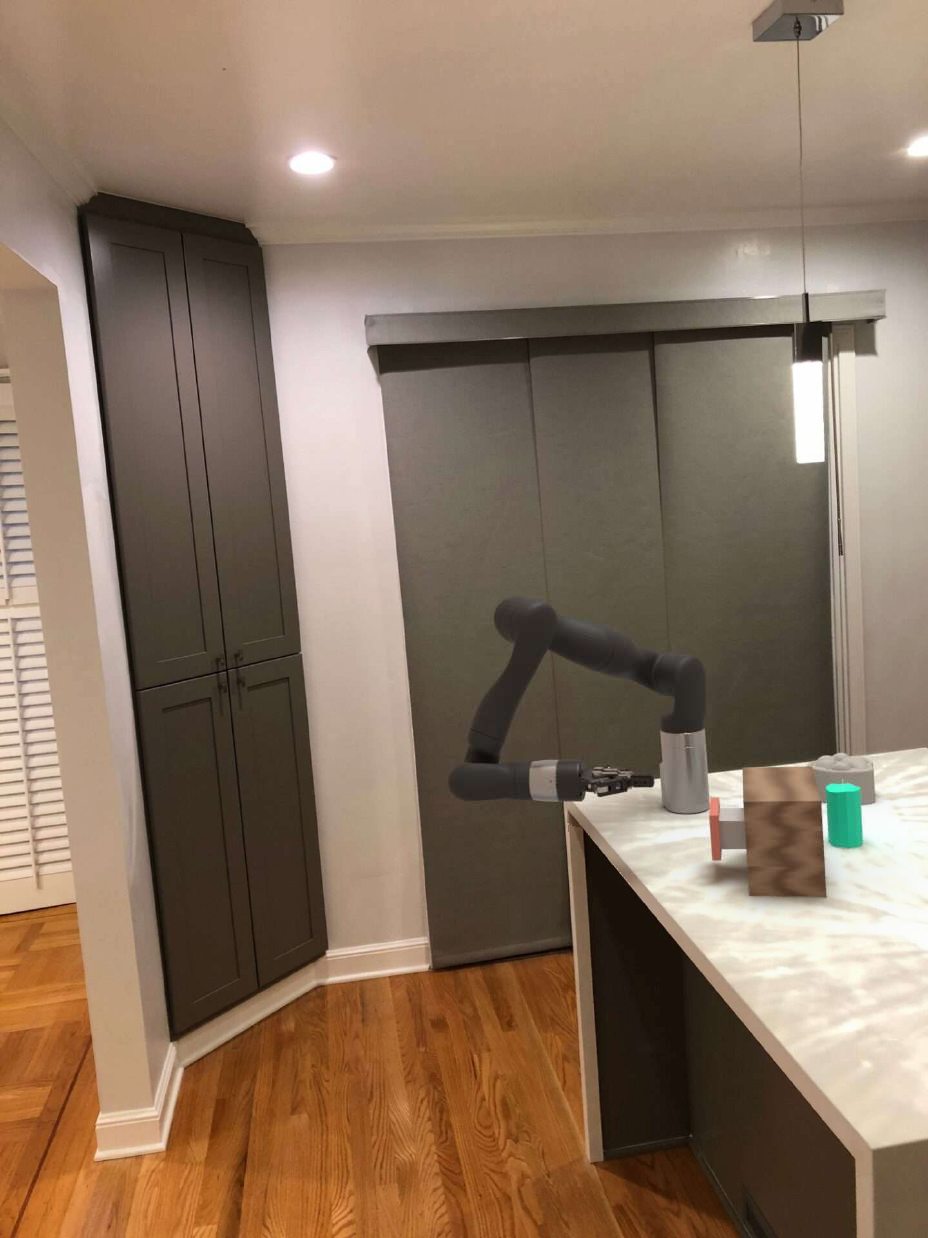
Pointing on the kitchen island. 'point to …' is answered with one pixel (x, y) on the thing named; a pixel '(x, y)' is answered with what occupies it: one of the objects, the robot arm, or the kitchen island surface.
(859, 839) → the candle
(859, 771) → the lumpy-topped squat cylinder
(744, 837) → the coral square plate
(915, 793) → the kitchen island surface
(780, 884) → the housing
